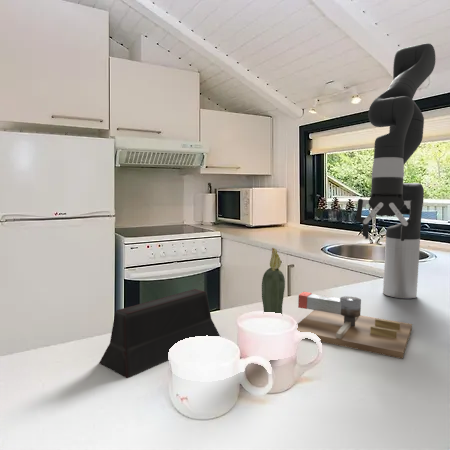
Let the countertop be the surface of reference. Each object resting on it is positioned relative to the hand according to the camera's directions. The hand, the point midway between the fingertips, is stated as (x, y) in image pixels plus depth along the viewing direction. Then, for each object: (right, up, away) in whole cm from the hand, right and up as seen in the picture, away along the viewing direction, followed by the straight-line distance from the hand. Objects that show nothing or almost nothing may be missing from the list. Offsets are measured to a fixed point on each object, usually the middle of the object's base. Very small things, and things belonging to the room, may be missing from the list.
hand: (384, 239), depth 101 cm
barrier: (-53, -21, -25) cm, 62 cm away
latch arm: (-17, -16, -12) cm, 26 cm away
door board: (-13, -20, -15) cm, 28 cm away
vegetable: (-32, -21, -26) cm, 46 cm away
